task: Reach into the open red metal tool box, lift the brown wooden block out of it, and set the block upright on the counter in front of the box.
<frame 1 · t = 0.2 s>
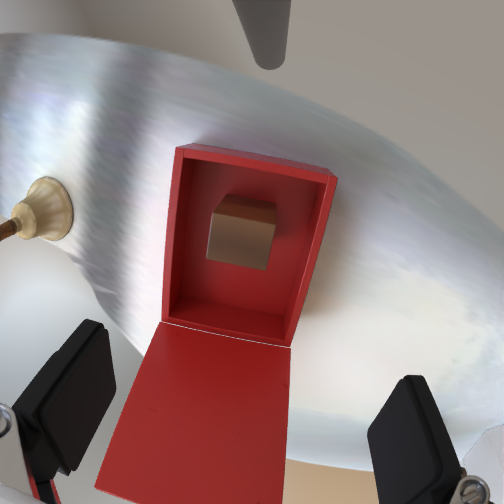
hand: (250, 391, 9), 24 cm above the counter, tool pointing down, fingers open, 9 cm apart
block: (247, 217, 31), point 1 cm above the counter, touching toolbox
milk: (490, 439, 48), on the counter
toolbox lid: (205, 426, 25), point 14 cm above the counter, hinge at 100.0°
toolbox: (244, 238, 33), on the counter
hand bell: (49, 208, 34), on the counter
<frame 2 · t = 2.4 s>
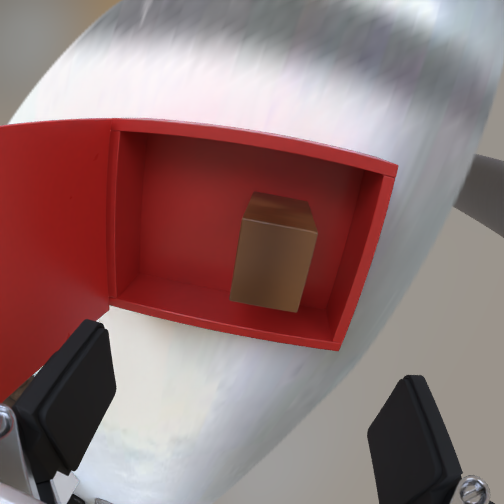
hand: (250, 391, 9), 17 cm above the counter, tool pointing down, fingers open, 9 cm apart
block: (274, 228, 24), point 1 cm above the counter, touching toolbox
milk: (51, 461, 51), on the counter
pen holder: (73, 496, 61), on the counter
toolbox: (242, 219, 24), on the counter
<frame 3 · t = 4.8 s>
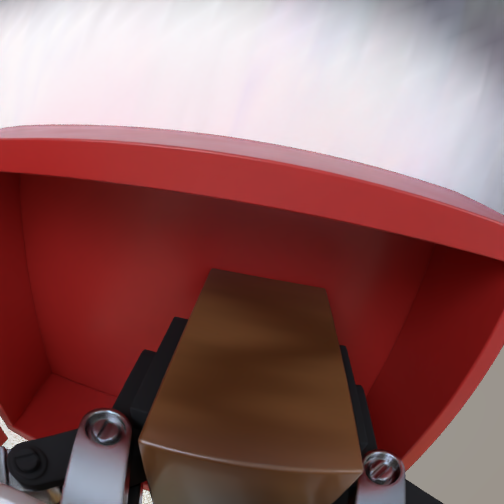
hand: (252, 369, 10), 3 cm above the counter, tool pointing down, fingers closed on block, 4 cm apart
block: (256, 335, 12), point 1 cm above the counter, touching gripper, toolbox
toolbox: (196, 311, 12), on the counter
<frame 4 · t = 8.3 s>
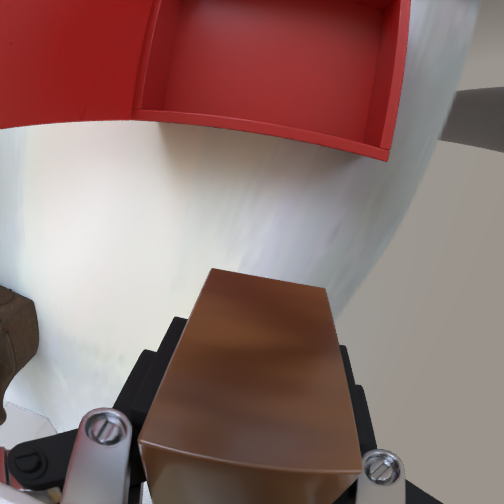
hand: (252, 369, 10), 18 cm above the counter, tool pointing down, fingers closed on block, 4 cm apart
block: (256, 335, 12), point 16 cm above the counter, touching gripper
milk: (38, 426, 47), on the counter
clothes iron: (20, 326, 36), on the counter
toolbox lid: (17, 4, 8), point 14 cm above the counter, hinge at 100.0°
toolbox: (274, 52, 21), on the counter
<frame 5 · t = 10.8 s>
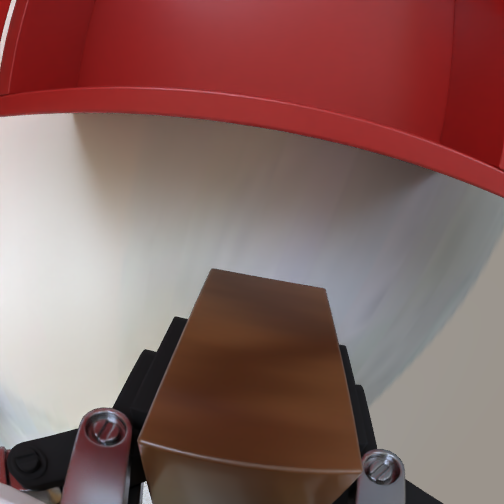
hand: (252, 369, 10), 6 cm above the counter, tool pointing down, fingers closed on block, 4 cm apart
block: (256, 335, 12), point 4 cm above the counter, touching gripper
when the fingers open (2 cm above the counter, at t = 12.1 s): block stays where it is, on the counter.
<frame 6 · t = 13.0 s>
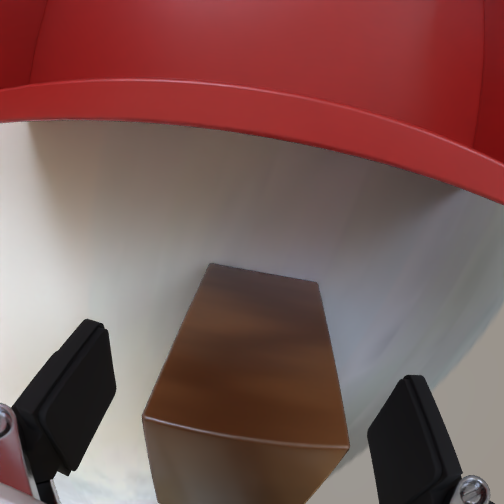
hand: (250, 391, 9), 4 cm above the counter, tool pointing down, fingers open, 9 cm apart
block: (252, 327, 12), on the counter
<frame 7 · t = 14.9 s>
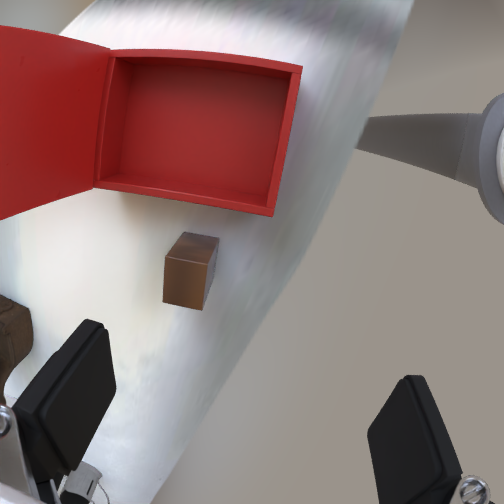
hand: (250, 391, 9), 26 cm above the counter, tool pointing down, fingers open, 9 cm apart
block: (198, 255, 35), on the counter
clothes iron: (18, 329, 43), on the counter
toolbox lid: (5, 122, 17), point 14 cm above the counter, hinge at 100.0°
pen holder: (53, 463, 64), on the counter
toolbox: (199, 125, 30), on the counter
glass holder: (96, 471, 61), on the counter
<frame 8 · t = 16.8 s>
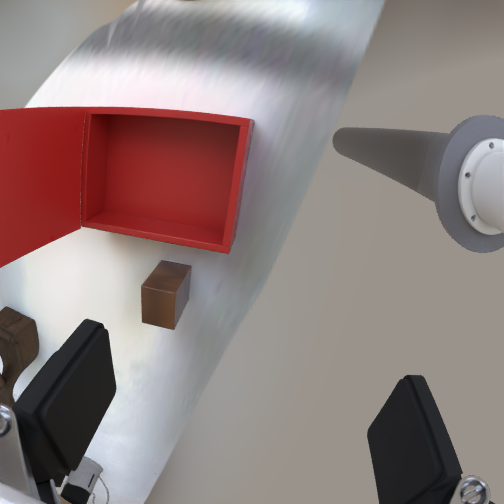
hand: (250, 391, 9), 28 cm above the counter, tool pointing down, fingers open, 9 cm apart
block: (175, 280, 40), on the counter
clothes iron: (25, 337, 49), on the counter
toolbox lid: (2, 183, 22), point 14 cm above the counter, hinge at 100.0°
pen holder: (58, 458, 71), on the counter
toolbox: (169, 168, 35), on the counter
glass holder: (97, 466, 67), on the counter
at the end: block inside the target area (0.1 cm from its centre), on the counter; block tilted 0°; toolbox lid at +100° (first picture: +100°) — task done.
